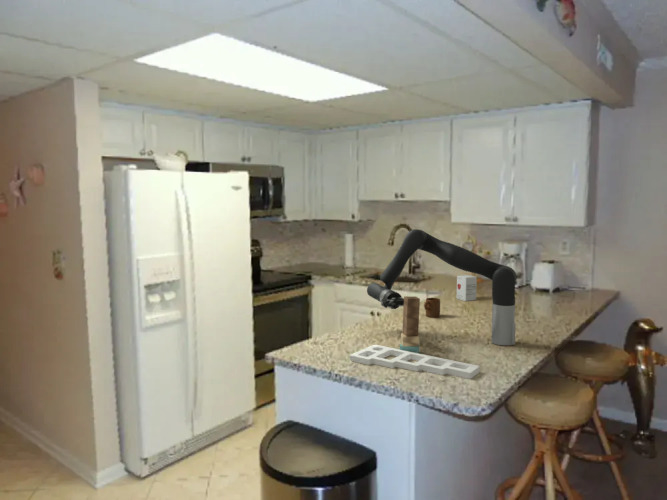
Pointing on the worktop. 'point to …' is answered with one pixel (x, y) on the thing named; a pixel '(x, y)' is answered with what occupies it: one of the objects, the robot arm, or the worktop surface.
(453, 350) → the worktop surface
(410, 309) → the walnut column
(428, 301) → the mug
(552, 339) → the worktop surface
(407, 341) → the tower mid
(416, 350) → the tower base
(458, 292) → the supplement box
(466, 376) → the holder
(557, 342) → the worktop surface
